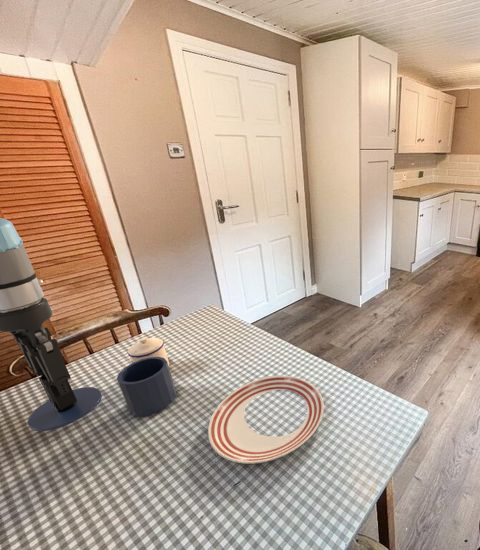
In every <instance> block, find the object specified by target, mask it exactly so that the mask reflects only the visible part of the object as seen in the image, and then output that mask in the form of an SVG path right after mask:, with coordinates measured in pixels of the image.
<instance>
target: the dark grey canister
mask: <svg viewBox="0 0 480 550" xmlns="http://www.w3.org/2000/svg"><path fill="white" fill-rule="evenodd" d="M116 381H117V383H118V386H119V388H120V392H121V394H122V396H123V399H124V401H125V404H126V406H127V410H128V411H129V413H130V415H131V416H133V417H137V418H141V417H148V416H152V415H155V414H157V413H160V412H161V411H163V410H165V409H166V408H167V407H168V406H170V405H171V404H172V403H173V402H174V401H175V399H176V398H177V389H176V386H175V382H174V379H173V376H172V372H171V368H170V365H169V366H168V362H167V361H166V359H165V358H162V357H149V358H145V359H141V360H139V361H136V362H134V363H132V362H131V363H130V364H128V365H127V366H125V367H124V368H122V369H121V370H120V372H119V373H118V374H117V376H116Z"/></svg>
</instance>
